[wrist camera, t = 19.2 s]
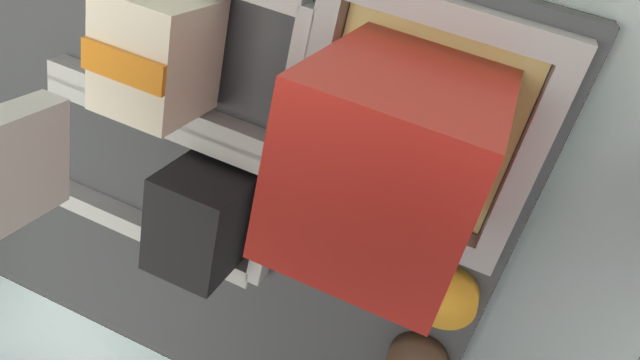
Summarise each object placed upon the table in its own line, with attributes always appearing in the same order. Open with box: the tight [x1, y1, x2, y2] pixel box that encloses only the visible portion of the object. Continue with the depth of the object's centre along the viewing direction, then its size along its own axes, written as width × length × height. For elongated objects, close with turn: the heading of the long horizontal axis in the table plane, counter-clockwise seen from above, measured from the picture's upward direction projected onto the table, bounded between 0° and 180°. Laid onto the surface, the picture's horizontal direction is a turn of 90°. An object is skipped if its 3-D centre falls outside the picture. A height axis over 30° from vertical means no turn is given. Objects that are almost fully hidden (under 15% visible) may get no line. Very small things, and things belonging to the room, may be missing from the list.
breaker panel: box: [0, 0, 620, 360], centre depth 23 cm, size 26×21×5 cm
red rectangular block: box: [243, 22, 524, 337], centre depth 16 cm, size 5×5×7 cm
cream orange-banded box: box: [81, 0, 231, 139], centre depth 19 cm, size 3×4×4 cm
